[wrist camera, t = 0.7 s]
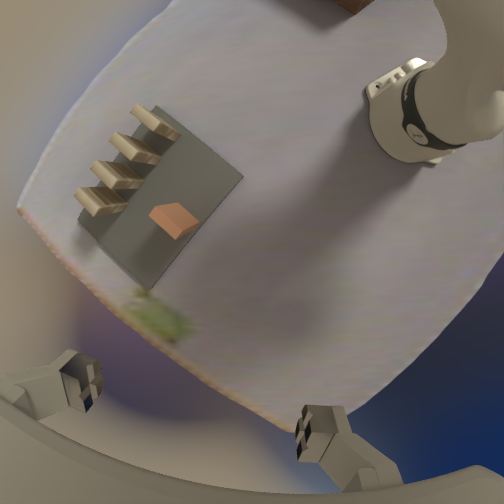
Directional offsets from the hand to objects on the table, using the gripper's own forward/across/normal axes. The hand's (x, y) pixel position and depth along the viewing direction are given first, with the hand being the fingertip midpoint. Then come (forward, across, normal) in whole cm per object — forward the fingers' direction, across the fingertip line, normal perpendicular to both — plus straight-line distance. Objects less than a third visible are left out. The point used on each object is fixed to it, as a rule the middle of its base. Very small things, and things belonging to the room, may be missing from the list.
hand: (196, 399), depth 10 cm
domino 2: (+38, +19, -12) cm, 44 cm away
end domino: (+38, +11, -2) cm, 40 cm away
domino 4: (+38, +24, -3) cm, 45 cm away
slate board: (+39, +18, -4) cm, 43 cm away
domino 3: (+38, +22, -7) cm, 45 cm away
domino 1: (+38, +16, -16) cm, 44 cm away
